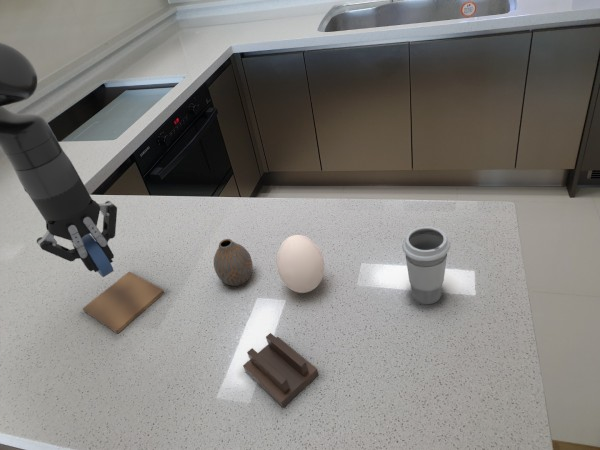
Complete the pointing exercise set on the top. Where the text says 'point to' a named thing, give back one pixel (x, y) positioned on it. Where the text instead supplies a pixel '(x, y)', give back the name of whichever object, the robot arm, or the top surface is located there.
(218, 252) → the vase
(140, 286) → the plate
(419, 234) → the cup
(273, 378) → the rack
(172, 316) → the top surface
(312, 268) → the egg
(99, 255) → the disc
